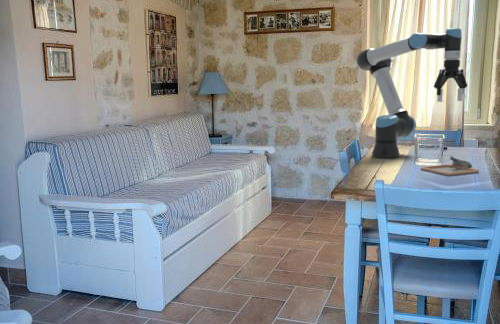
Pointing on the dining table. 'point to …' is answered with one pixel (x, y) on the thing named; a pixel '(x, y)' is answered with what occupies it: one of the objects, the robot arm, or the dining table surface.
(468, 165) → the mechanical component
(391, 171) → the dining table surface
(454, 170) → the wooden square frame
